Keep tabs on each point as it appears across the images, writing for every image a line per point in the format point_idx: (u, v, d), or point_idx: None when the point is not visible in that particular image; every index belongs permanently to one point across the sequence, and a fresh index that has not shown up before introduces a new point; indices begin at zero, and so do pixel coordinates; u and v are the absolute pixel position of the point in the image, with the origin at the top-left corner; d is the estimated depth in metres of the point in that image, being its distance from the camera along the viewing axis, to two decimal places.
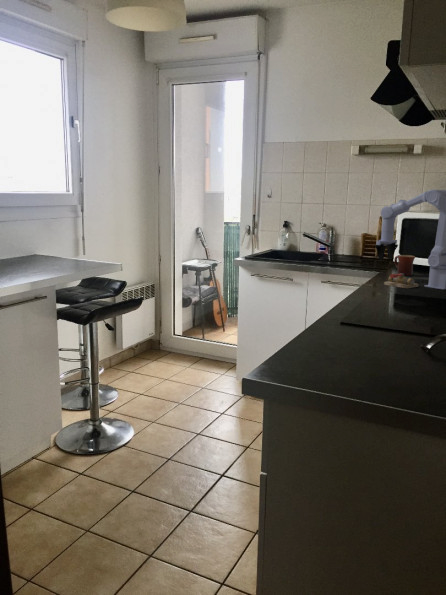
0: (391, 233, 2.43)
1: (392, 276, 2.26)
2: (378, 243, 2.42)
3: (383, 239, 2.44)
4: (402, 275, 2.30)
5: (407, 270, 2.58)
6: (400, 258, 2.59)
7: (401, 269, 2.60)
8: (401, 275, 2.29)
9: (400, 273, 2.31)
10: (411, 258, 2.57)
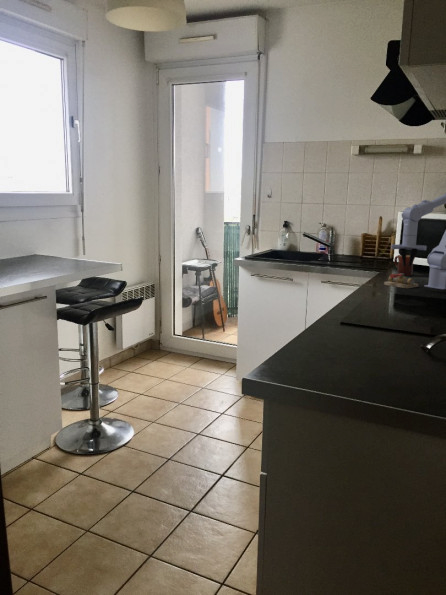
0: (408, 237, 2.16)
1: (392, 276, 2.26)
2: (391, 247, 2.21)
3: (402, 243, 2.20)
4: (402, 275, 2.30)
5: (407, 270, 2.58)
6: (400, 258, 2.59)
7: (401, 269, 2.60)
8: (401, 275, 2.29)
9: (400, 273, 2.31)
10: None
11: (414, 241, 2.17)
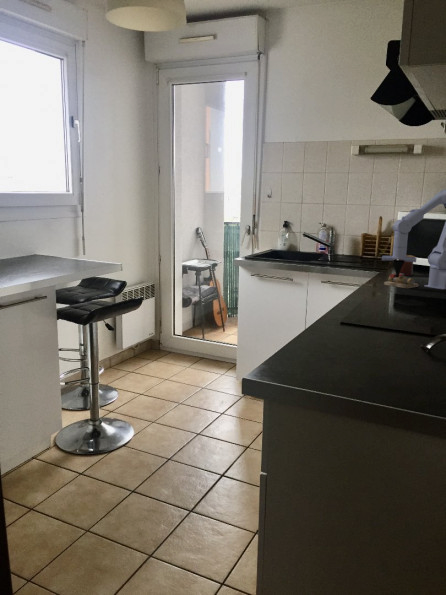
0: (397, 249, 2.21)
1: (392, 276, 2.26)
2: (382, 258, 2.26)
3: None
4: (402, 275, 2.30)
5: (407, 270, 2.58)
6: None
7: (401, 269, 2.60)
8: (401, 275, 2.30)
9: (400, 273, 2.31)
10: None
11: (403, 253, 2.21)
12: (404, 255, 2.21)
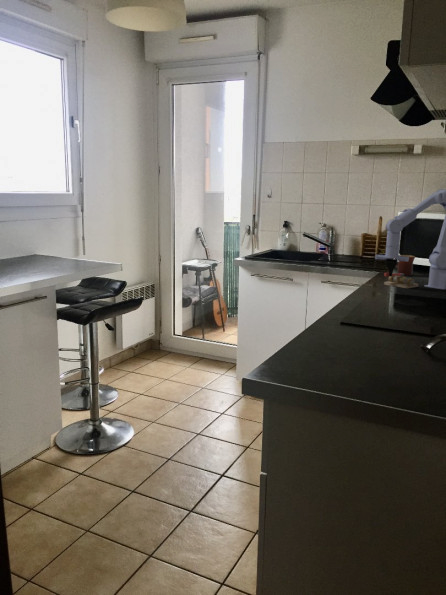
0: (389, 248, 2.24)
1: (385, 274, 2.30)
2: None
3: None
4: (401, 275, 2.30)
5: (407, 270, 2.58)
6: None
7: (401, 269, 2.60)
8: (399, 275, 2.30)
9: (400, 273, 2.31)
10: (411, 258, 2.57)
11: (395, 252, 2.24)
12: (396, 254, 2.24)
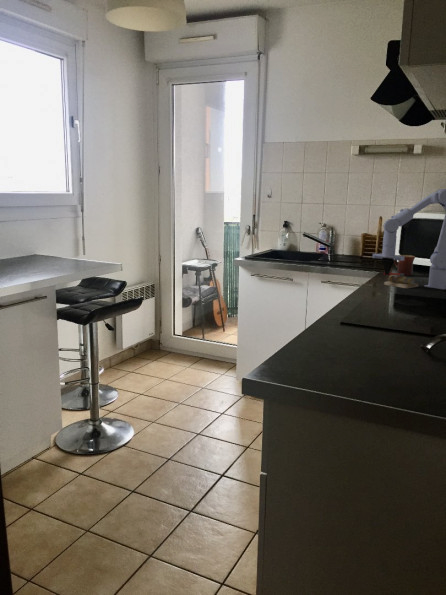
0: (385, 247, 2.28)
1: None
2: None
3: None
4: (400, 275, 2.31)
5: (407, 270, 2.58)
6: None
7: (401, 269, 2.60)
8: (398, 274, 2.31)
9: (401, 273, 2.31)
10: (411, 258, 2.57)
11: (390, 251, 2.27)
12: (391, 253, 2.27)
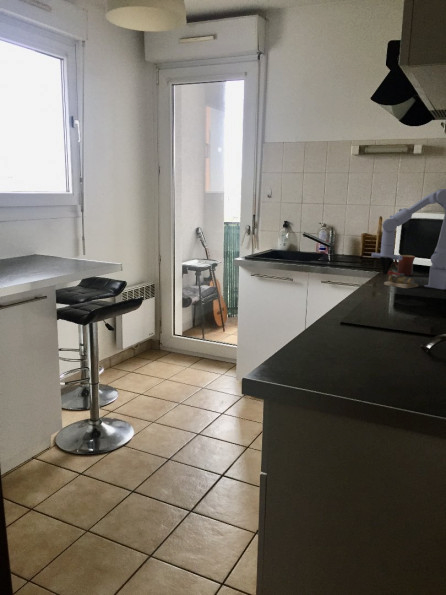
0: (383, 246, 2.30)
1: None
2: None
3: None
4: (399, 275, 2.31)
5: (407, 270, 2.58)
6: None
7: (401, 269, 2.60)
8: (398, 274, 2.32)
9: (402, 273, 2.31)
10: (411, 258, 2.57)
11: (388, 251, 2.29)
12: (389, 253, 2.29)
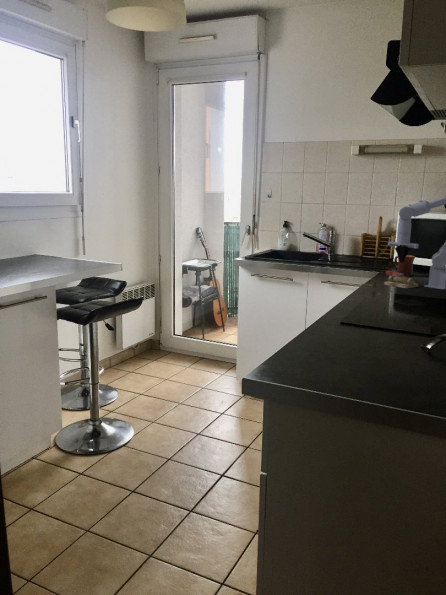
0: (399, 235, 2.29)
1: None
2: None
3: None
4: (399, 275, 2.31)
5: (407, 270, 2.58)
6: None
7: (401, 269, 2.60)
8: (398, 274, 2.32)
9: (402, 273, 2.31)
10: (411, 258, 2.57)
11: (404, 239, 2.28)
12: (405, 241, 2.28)
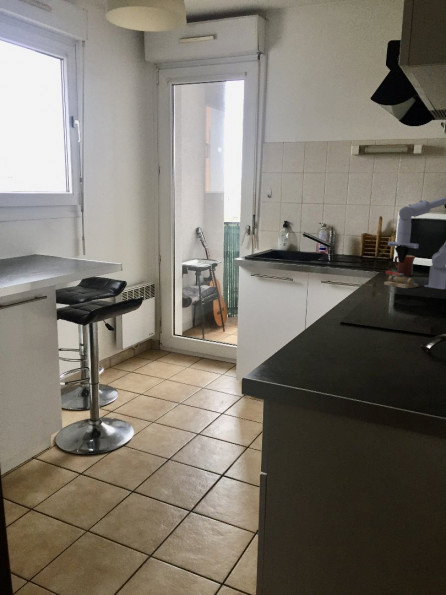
0: (399, 235, 2.29)
1: None
2: None
3: None
4: (399, 275, 2.31)
5: (407, 270, 2.58)
6: None
7: (401, 269, 2.60)
8: (398, 274, 2.32)
9: (402, 273, 2.31)
10: (411, 258, 2.57)
11: (404, 239, 2.28)
12: (405, 241, 2.28)
